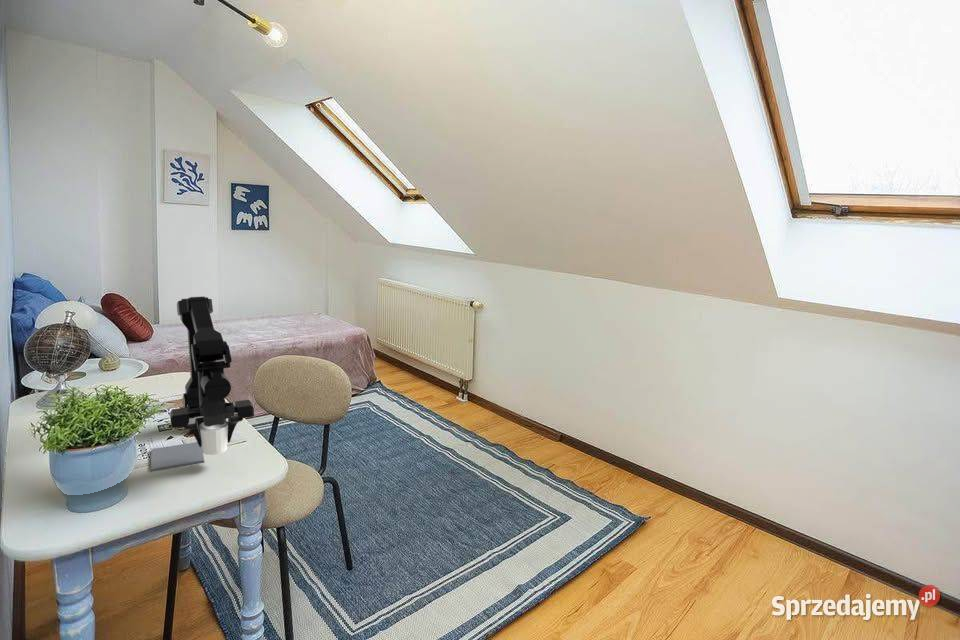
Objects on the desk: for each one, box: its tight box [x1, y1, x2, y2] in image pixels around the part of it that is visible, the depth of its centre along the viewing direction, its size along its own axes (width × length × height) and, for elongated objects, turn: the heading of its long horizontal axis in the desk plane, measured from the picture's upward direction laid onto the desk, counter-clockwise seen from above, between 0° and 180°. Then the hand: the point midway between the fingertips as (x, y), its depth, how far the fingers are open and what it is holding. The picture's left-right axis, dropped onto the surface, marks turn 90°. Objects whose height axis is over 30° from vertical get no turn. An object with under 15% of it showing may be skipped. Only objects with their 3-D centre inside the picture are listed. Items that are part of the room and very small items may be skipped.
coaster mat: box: [150, 441, 205, 472], centre depth 144 cm, size 12×12×1 cm
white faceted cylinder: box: [199, 420, 228, 456], centre depth 139 cm, size 7×7×7 cm
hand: (214, 444), depth 139 cm, fingers closed on white faceted cylinder, 6 cm apart
